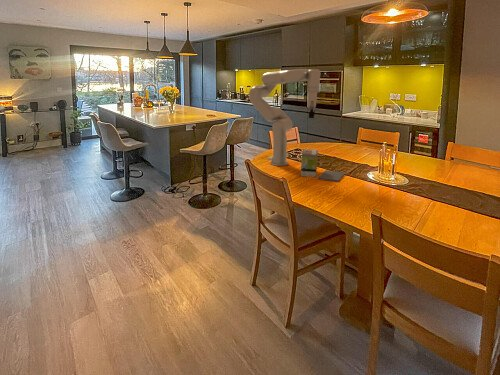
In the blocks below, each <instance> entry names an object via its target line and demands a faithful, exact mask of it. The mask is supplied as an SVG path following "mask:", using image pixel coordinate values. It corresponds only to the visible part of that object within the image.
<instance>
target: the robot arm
mask: <svg viewBox="0 0 500 375" xmlns="http://www.w3.org/2000/svg"><path fill="white" fill-rule="evenodd" d="M320 81H321V70H320V69H318V68H316V69H311V68H310V69H309V68H297V69H288V70H275V71H269V72H265V73H264V74H262V76H261V82H262V84H260V85H258V84H257V85H254V86H253V87H251V88H250V89H249V92H248V98H249V101H250V103H251V105H252V106H253V107H254V108H255V109H256V111H258V112H259V113H260V115H261V116H263V118H264V119H265V120H266V121H267V122H268V123H273V124H272V129H271V130H272V135H273V136H272V138H273V139H272V140H273V141H272V147H273V148H272V156H268V157H267V160H268V161H270V165H272V166H277V167H283V166H288V164H289V162H288V161H287V151H288V150H287V149H288V147H287V146H288V145H287V144H288V143H287V142H288V139H287V132H289V131H291V130H292V129H293V125H294V124H293V121H292V120H291V118H290V117H289V116H288V115H287V114H286V112H284V110H282V108H280V107H276V106H275V107H272V106H271V105H270V103H268V101H267V100H265V99H264V98H266V97H268V96H269V95H270V94H271V93H272V92H273V91H274V89H275V88H276V87H277V86H278V85H285V84H288V83H299V82H307V88H306V92H307V93H308V97H307V98H308V99H307V109H309V111H308V118H309V119H314V118H315V114H316V113H315V111H316V110H315V109H316V106H317V100H318V99H317V97H318V93H320V84H321V83H320Z"/></svg>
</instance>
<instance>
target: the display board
mask: <svg viewBox="0 0 500 375" xmlns="http://www.w3.org/2000/svg"><path fill="white" fill-rule="evenodd" d="M345 175H346V172H342V171H335V170H327V169H326V170H324V171H323V172H321V173H320V174H319V175H318V176H316V177H317V178H316V179H317V180H322V181H328V182H336V183H338V182H339V181H340V180H341V179H342V178H343V177H344V176H345Z"/></svg>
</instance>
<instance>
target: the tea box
mask: <svg viewBox="0 0 500 375" xmlns="http://www.w3.org/2000/svg"><path fill="white" fill-rule="evenodd" d="M318 156H319V150H318V149H309V148H308V149H307V148H303V150H302V153H301V165H300V177H307V178H311V177H312V178H316V177H317V169H318V160H319V159H318V158H319V157H318Z"/></svg>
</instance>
